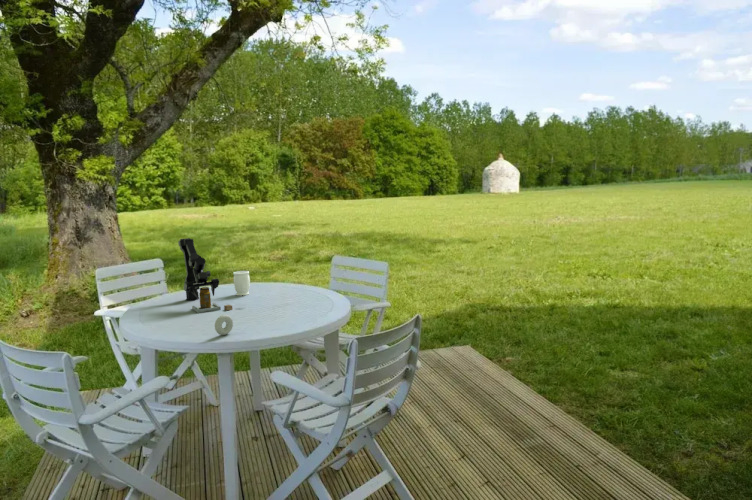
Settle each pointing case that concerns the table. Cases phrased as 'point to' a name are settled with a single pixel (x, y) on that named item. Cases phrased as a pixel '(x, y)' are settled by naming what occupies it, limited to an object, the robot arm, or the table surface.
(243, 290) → the jar
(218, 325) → the donut
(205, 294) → the condiment
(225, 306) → the tan block
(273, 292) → the table surface
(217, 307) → the holder
